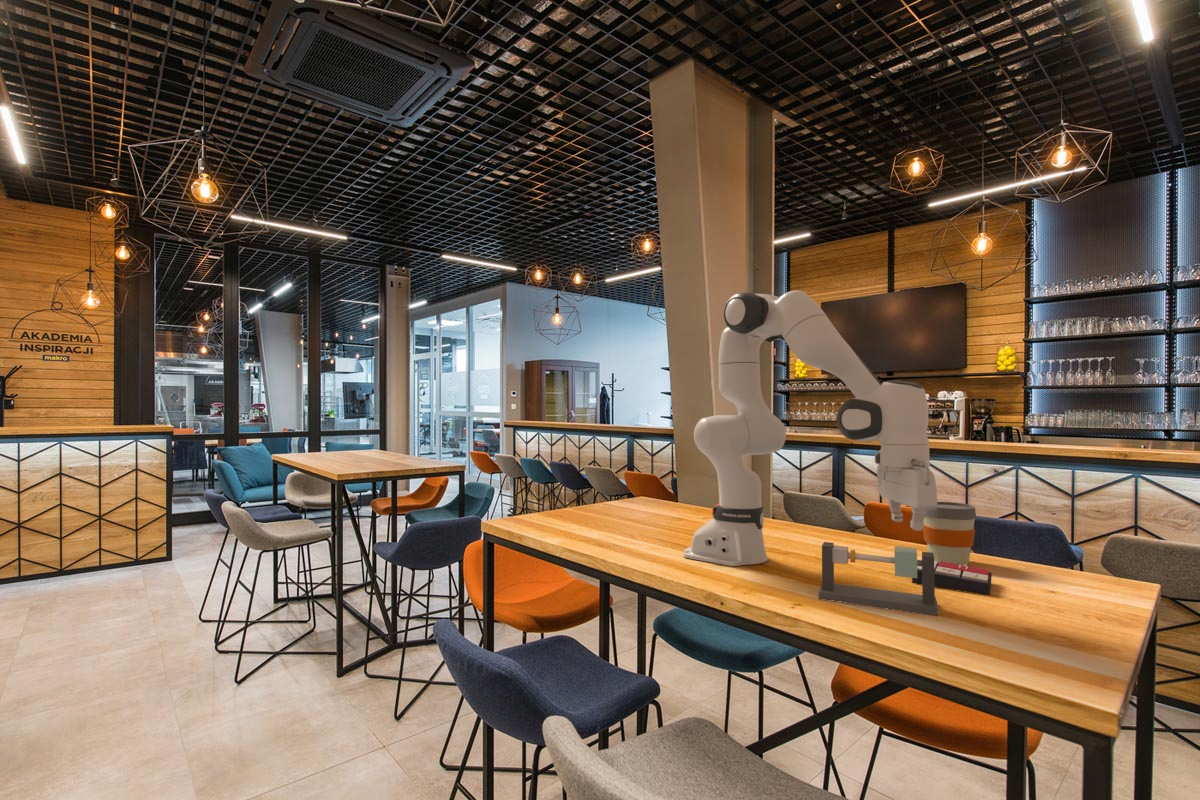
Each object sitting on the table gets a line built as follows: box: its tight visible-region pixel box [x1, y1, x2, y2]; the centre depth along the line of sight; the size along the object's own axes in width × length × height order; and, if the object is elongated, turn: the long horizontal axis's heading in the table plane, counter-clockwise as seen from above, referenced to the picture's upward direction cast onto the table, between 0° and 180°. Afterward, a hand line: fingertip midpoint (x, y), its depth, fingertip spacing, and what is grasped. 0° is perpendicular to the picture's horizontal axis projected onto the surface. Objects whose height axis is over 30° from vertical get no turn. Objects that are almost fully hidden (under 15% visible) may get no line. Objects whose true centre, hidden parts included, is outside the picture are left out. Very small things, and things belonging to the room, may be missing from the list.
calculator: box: [911, 558, 993, 596], centre depth 133 cm, size 11×4×15 cm
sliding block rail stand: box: [818, 541, 939, 617], centre depth 120 cm, size 22×8×11 cm, turn 63°
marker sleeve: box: [894, 545, 918, 579], centre depth 118 cm, size 4×5×5 cm
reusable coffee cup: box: [922, 501, 977, 565], centre depth 152 cm, size 13×13×15 cm
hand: (906, 525), depth 118 cm, fingers open, 8 cm apart
